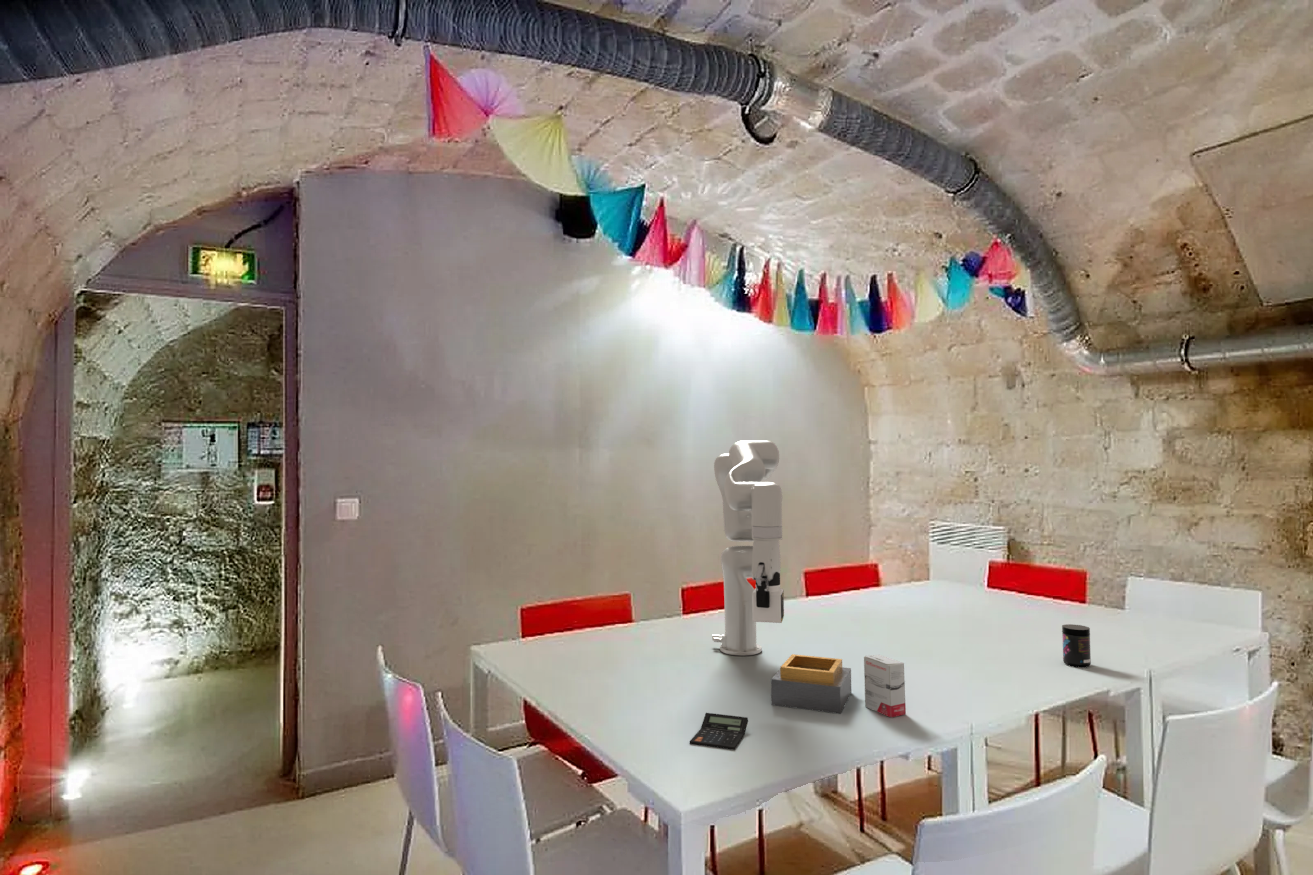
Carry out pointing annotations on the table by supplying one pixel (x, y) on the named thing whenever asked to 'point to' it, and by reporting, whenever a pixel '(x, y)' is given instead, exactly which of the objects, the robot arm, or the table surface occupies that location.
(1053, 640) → the table surface
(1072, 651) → the supplement container
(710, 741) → the calculator
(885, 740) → the table surface
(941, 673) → the table surface
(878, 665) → the ink box
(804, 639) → the table surface
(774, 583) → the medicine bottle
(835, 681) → the drawer box
